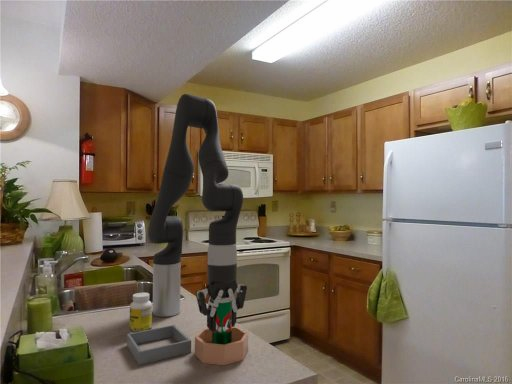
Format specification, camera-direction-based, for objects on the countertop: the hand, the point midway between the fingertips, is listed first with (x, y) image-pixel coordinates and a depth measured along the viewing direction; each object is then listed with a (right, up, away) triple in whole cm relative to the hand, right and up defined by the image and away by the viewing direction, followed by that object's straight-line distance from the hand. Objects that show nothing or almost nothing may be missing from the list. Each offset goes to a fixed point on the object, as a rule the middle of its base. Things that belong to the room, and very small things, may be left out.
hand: (221, 327), depth 89 cm
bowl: (0, -6, 0) cm, 6 cm away
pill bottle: (-25, -7, +13) cm, 29 cm away
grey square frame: (-17, -6, +2) cm, 18 cm away
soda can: (0, -4, 0) cm, 4 cm away
